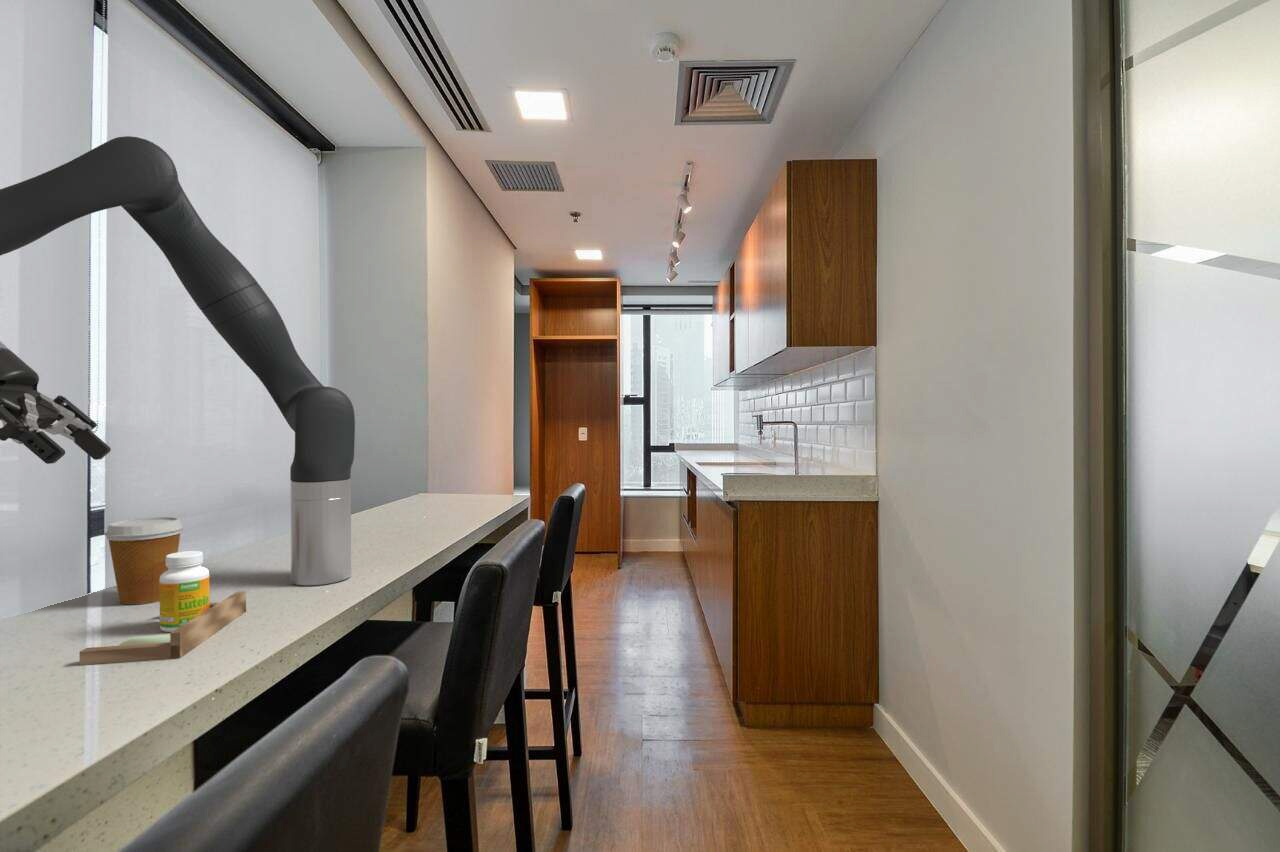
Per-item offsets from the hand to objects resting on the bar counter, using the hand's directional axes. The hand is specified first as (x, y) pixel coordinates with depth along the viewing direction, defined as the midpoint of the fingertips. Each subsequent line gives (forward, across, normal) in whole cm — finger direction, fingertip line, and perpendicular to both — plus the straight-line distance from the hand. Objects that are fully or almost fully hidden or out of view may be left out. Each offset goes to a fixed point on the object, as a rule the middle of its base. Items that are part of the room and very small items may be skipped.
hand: (82, 457), depth 79 cm
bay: (+24, -3, +8) cm, 26 cm away
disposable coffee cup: (+16, +15, +17) cm, 28 cm away
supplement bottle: (+25, 0, +8) cm, 26 cm away
